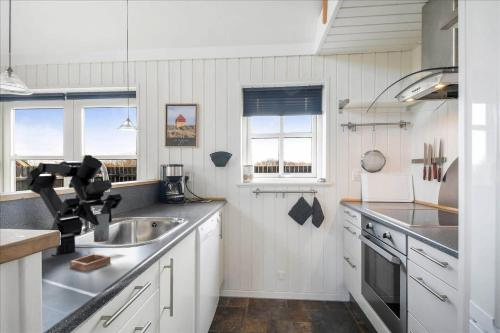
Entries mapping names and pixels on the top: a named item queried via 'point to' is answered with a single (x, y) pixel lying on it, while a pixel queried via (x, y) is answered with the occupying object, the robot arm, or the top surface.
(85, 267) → the wooden board with frame
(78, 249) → the top surface
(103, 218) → the dark grey cylinder
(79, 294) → the top surface
